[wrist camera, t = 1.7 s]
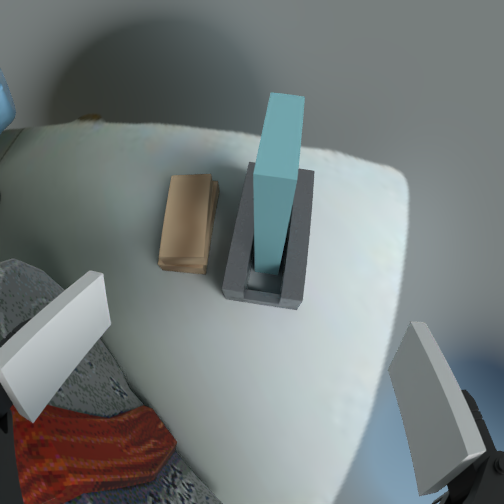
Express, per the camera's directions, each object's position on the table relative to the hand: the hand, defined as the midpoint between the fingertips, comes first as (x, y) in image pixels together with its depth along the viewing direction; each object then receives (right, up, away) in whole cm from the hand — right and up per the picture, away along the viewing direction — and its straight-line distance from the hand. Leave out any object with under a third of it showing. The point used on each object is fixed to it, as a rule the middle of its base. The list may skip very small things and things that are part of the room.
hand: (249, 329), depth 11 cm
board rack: (+2, +4, +22) cm, 23 cm away
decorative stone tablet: (-14, -14, +15) cm, 24 cm away
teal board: (+2, +4, +22) cm, 23 cm away
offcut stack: (-7, +6, +23) cm, 25 cm away
